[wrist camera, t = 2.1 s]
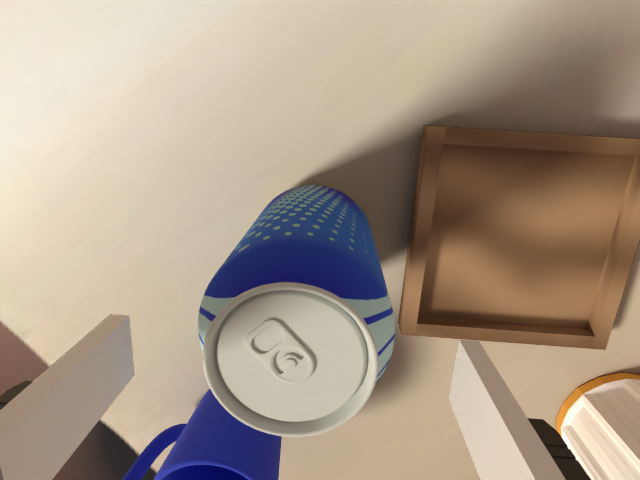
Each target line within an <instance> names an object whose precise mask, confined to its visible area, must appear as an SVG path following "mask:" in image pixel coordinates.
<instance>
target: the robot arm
mask: <svg viewBox="0 0 640 480" xmlns="http://www.w3.org/2000/svg"><path fill="white" fill-rule="evenodd" d="M133 376H134V365H133V354H132V342H131V331H130V320H129V316H127V315H113V314H110V315H109V316H108V317H107V318H105V319H104V320H103V321H102V322H101V323H100V324H99V325H97V326H96V327H95V328H94V329H93V330H92V331H91V332H89V333H88V334H87V335H86V336H85V337H84V338H82V339H81V340H80V341H79V342H78V343H77V344H76V345H74V346H73V347H72V348H71V349H70V350H69V351H68V352H66V353H65V354H64V355H63V356H62V357H61V358H60V359H58V360H57V361H56V362H55V363H54V364H53V365H52V366H50V367H49V368H48V369H47V370H46V371H45V372H44V373H42V374H41V375H40V376H39V377H38V378H37V379H35V380H34V381H24V382H22V383H20V384H18V385H17V386H15V387H13V388H11V389H9V390H7V391H6V392H5V393H4V394H2V395H1V396H0V480H52V479H53V478H54V476H55V475H56V474H57V472H58V471H59V470H60V469H61V467H62V466H63V465H64V464H65V462H66V461H67V460H68V458H69V457H70V456H71V455H72V454H73V452H74V451H75V450H76V448H77V447H78V446H79V445H80V443H81V442H82V441H83V439H84V438H85V437H86V436H87V434H88V433H89V432H90V431H91V429H92V428H93V427H94V426H95V424H96V423H97V422H98V420H99V419H100V418H101V417H102V415H103V414H104V413H105V412H106V410H107V409H108V408H109V406H110V405H111V404H112V403H113V401H114V400H115V399H116V398H117V396H118V395H119V394H120V392H121V391H122V390H123V389H124V387H125V386H126V385H127V384H128V382H129V381H130V380H131V378H132V377H133ZM449 401H450V403H451V406H452V408H453V411H454V414H455V416H456V419H457V421H458V424H459V426H460V429H461V431H462V434H463V436H464V439H465V442H466V444H467V447H468V449H469V452H470V454H471V457H472V459H473V462H474V464H475V467H476V470H477V472H478V475H479V477H480V480H591V479H590V477H589V476H588V474H587V473H586V472H585V470H584V469H583V467H582V466H581V464H580V463H579V461H578V460H576V457H575V456H574V454H573V453H572V451H571V450H570V449H568V446H567V444H566V443H565V441H564V440H563V439H562V437H561V436H560V434H559V433H558V432H557V431H556V430H555V429H554V428H553V427H551V426H550V425H549V424H548V423H547V422H545V421H544V420H543V419H530V418H527V417H526V415H525V414H524V412H523V411H522V409H521V407H520V406H519V404H518V403H517V401H516V399H515V398H514V396H513V395H512V393H511V391H510V390H509V388H508V387H507V385H506V383H505V382H504V380H503V379H502V377H501V376H500V374H499V372H498V371H497V369H496V368H495V366H494V364H493V363H492V361H491V360H490V358H489V356H488V355H487V353H486V352H485V350H484V348H483V347H482V345H481V344H480V342H479V341H467V340H459V345H458V351H457V356H456V362H455V367H454V373H453V378H452V384H451V389H450V395H449Z"/></svg>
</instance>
